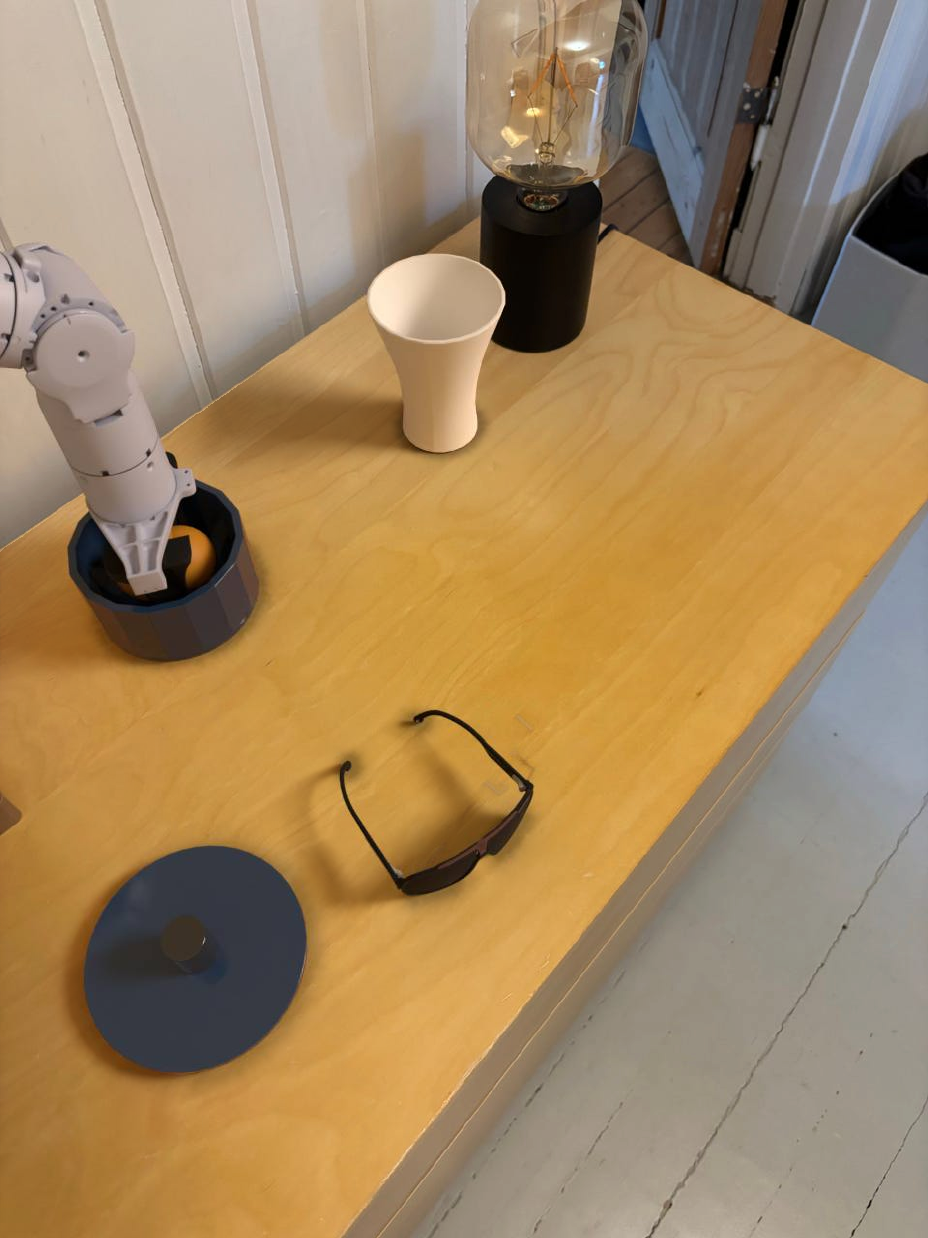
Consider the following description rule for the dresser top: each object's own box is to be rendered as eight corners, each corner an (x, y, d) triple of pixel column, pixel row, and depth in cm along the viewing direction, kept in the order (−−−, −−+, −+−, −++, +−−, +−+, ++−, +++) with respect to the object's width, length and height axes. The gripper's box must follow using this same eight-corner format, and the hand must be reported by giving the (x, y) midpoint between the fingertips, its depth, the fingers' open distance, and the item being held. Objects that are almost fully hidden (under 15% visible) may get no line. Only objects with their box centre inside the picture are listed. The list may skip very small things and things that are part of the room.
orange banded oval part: (126, 620, 69) (105, 581, 65) (121, 568, 71) (99, 526, 67) (227, 597, 70) (212, 557, 66) (217, 546, 73) (202, 504, 68)
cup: (507, 390, 84) (513, 259, 73) (491, 477, 78) (495, 349, 67) (392, 378, 85) (381, 247, 74) (369, 463, 79) (352, 335, 68)
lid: (98, 1107, 53) (71, 1097, 49) (82, 883, 60) (58, 861, 56) (328, 1035, 55) (319, 1021, 51) (287, 827, 62) (276, 802, 58)
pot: (104, 679, 68) (72, 631, 62) (92, 550, 74) (63, 496, 69) (271, 639, 70) (255, 588, 64) (245, 517, 76) (228, 462, 71)
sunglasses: (419, 929, 58) (409, 896, 54) (321, 794, 64) (305, 757, 60) (551, 830, 61) (550, 793, 57) (444, 712, 68) (438, 672, 64)
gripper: (190, 515, 55) (237, 638, 66) (163, 354, 63) (209, 489, 74) (67, 541, 54) (136, 662, 65) (54, 374, 61) (118, 508, 73)
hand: (168, 572), depth 69 cm, fingers closed on orange banded oval part, 5 cm apart
